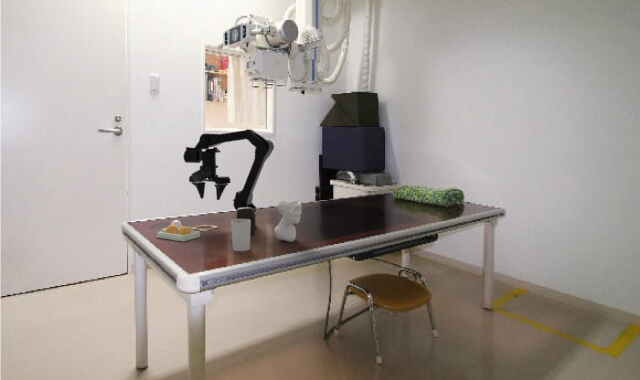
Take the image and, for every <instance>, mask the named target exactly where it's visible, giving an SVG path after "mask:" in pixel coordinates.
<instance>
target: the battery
mask: <svg viewBox="0 0 640 380" xmlns="http://www.w3.org/2000/svg"><path fill="white" fill-rule="evenodd" d="M254 214H255V213H254V210H253V209H252V208H250V207H243V208H238V209H235V219H249V220H251V228H250V237H254V236H255V228H254Z"/></svg>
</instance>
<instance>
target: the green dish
mask: <svg viewBox="0 0 640 380" xmlns="http://www.w3.org/2000/svg"><path fill="white" fill-rule="evenodd" d="M179 230H180V229H179V228H178V233H177V234H170V233H166V230H164V231H162V230H160V231H157V232H156V236H157V237H156V238H158V239H164V240H171V241H178V242H186V241H190V240H194V239H196V238H200V237H201V231H198V230H191V229H190V230H191V234H187V235H179Z"/></svg>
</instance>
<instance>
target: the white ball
mask: <svg viewBox="0 0 640 380" xmlns="http://www.w3.org/2000/svg"><path fill="white" fill-rule="evenodd" d="M170 225H175V226H177V228H179V229H181V226H183V225H182V222H181V221H180V220H177V219H176V220H173V221H171V223H170Z"/></svg>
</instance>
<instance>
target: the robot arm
mask: <svg viewBox="0 0 640 380" xmlns="http://www.w3.org/2000/svg"><path fill="white" fill-rule="evenodd" d="M243 140H247V141H248V142H249V143H250V144H251V145H252V146H253V147H255V150H254V158H253V159H254V160H253V162H252V165H251V168H250V169H249V173H248V175H247V177H246V180H245V183H244V186H243V187H242V190H238V191H236V192H235V196H234V198H233V199H232V202H233V203H232V205H233V207H234V210H236V209H238V208H243V207H250V208H252V209H253V210H254V229H257V228H258V227H259V226H258V225H256V213H257V209H258V208H257V207H256V205H255V204H254V203H253V197H254V190H255V188H256V185H257V182H258V180H259V178H260V175H261V173H262V170H263V167H264V164H265V163H266V161H267V159H268V158H269V157H270V156H271V155H272V153H273V151H274V149H275V144H274V142H272V141H271V140H270V139H266V138H265V137H263V136H261V135H260V134H258V133H257V132H256V131H254V129H250V128H249V129H245V130H239V131H234V132H233V131H232V132H224V133H221V134H220V133H203V134H202V133H201V135H200V136H199V139H198V142H197V143H196V145H195V147H191V146H186V147H185V151H184V153H183V155H182V157H183V161H184V162H185V164H199V163H201V165H200V166H199V169H198V170H196V171H194V172H193V173H191V175H190V176H189V177H188V182H189V183H191V185H193V186H195V188H196V190H197V193H198V195H199V198H200V199H204V197H205V189H206V188H205V187H206V182H210V183H211V182H212V183H214V184H213V186H214V187H215V195H216V200H217V201H219V200H221V197H222V195H223V193H224V191H225V189H226V187H227V186H228V185H229V184H231V178H230V176H224V175H223V176H219V174H217V168H219V165H217V159H216V158H217V157H216V155H217V154H219V153H221V150H220V149H218V147H217V146H219V145H222V144H224V143H230V142H237V141H243Z"/></svg>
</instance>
